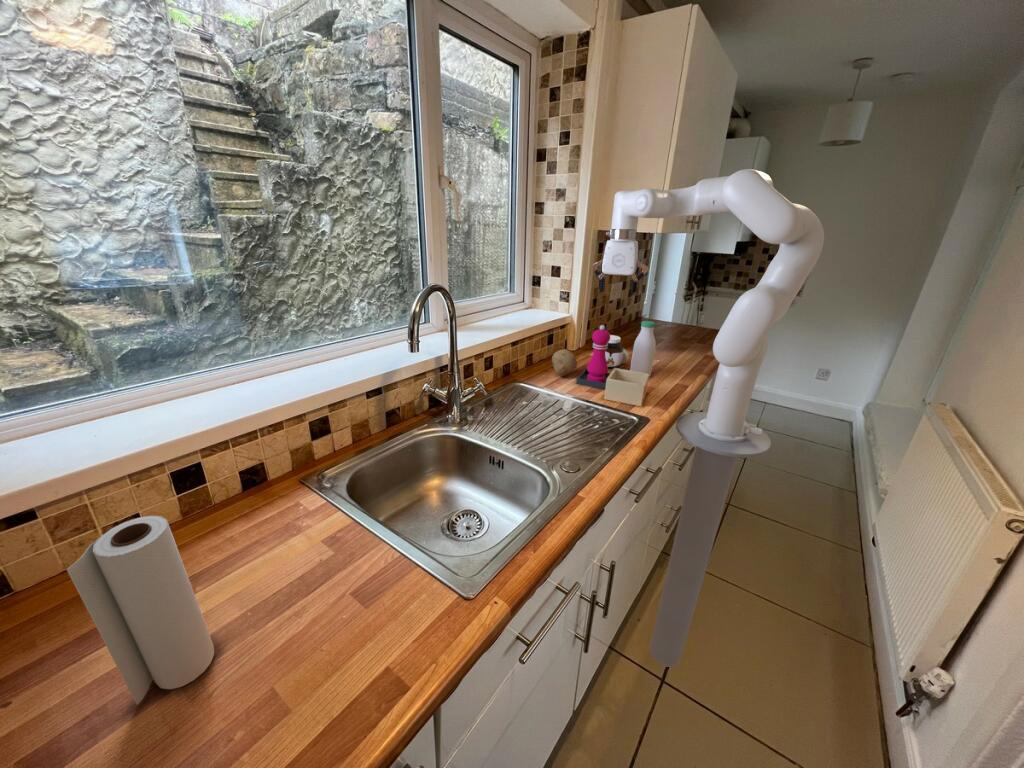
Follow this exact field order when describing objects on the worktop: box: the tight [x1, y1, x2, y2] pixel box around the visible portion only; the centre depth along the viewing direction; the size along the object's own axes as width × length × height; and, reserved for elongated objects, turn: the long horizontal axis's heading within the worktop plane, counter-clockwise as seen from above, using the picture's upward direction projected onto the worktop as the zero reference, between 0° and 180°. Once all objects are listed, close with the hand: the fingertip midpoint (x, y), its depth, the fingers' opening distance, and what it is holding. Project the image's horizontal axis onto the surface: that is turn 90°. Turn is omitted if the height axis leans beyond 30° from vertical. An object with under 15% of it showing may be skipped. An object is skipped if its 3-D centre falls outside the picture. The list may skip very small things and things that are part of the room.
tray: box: [576, 368, 611, 390], centre depth 144 cm, size 11×11×2 cm
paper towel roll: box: [65, 515, 215, 705], centre depth 47 cm, size 7×6×21 cm
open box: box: [603, 367, 651, 407], centre depth 132 cm, size 12×12×7 cm
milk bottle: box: [629, 320, 657, 377], centre depth 149 cm, size 8×8×20 cm
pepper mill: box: [586, 324, 611, 383], centre depth 141 cm, size 7×7×20 cm
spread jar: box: [605, 334, 630, 370], centre depth 159 cm, size 12×11×12 cm
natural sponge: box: [551, 348, 578, 377], centre depth 147 cm, size 9×9×10 cm
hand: (616, 293), depth 129 cm, fingers open, 9 cm apart
